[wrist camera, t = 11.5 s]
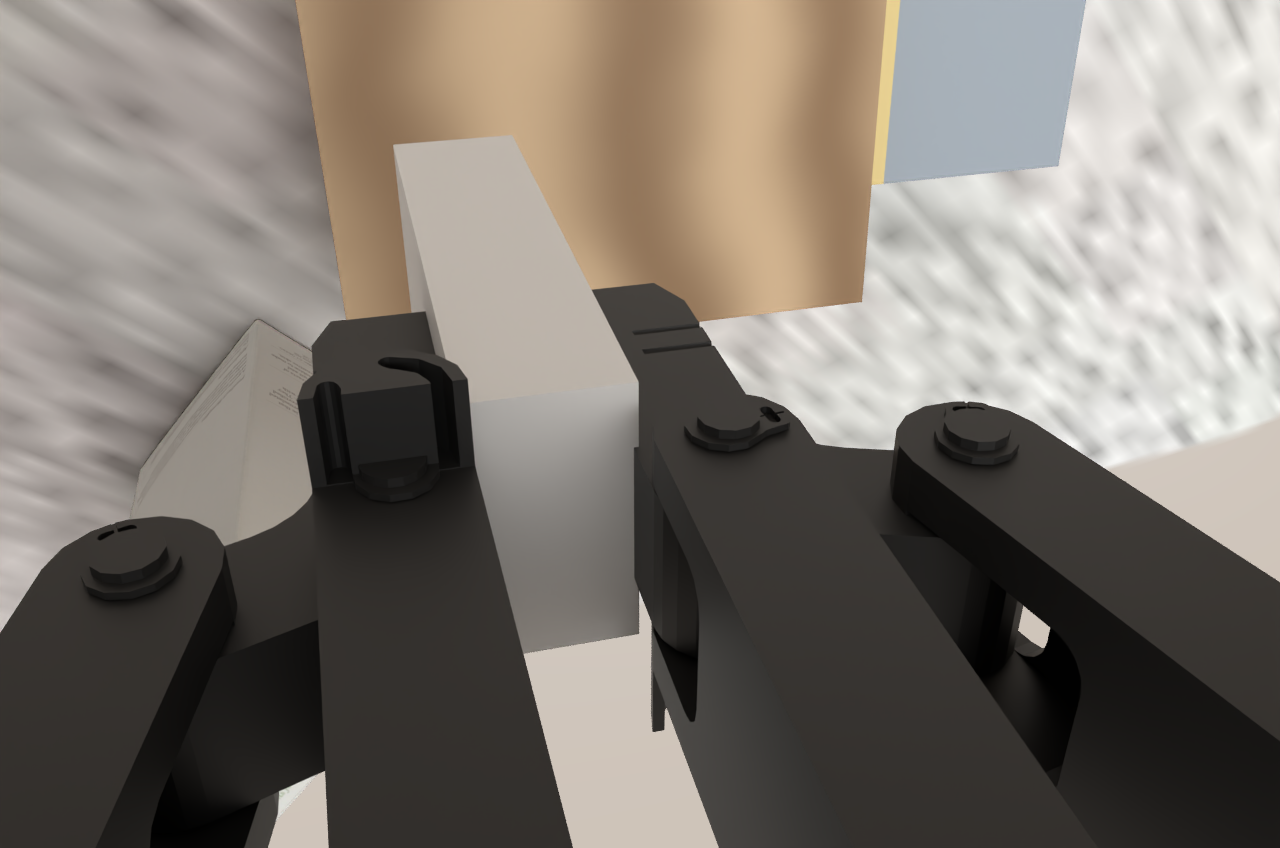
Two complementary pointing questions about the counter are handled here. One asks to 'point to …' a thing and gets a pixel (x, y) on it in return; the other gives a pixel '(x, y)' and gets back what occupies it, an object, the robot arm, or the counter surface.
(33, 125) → the counter surface
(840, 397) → the counter surface
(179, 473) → the skincare box
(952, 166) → the slate-blue block
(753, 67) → the oak plinth
